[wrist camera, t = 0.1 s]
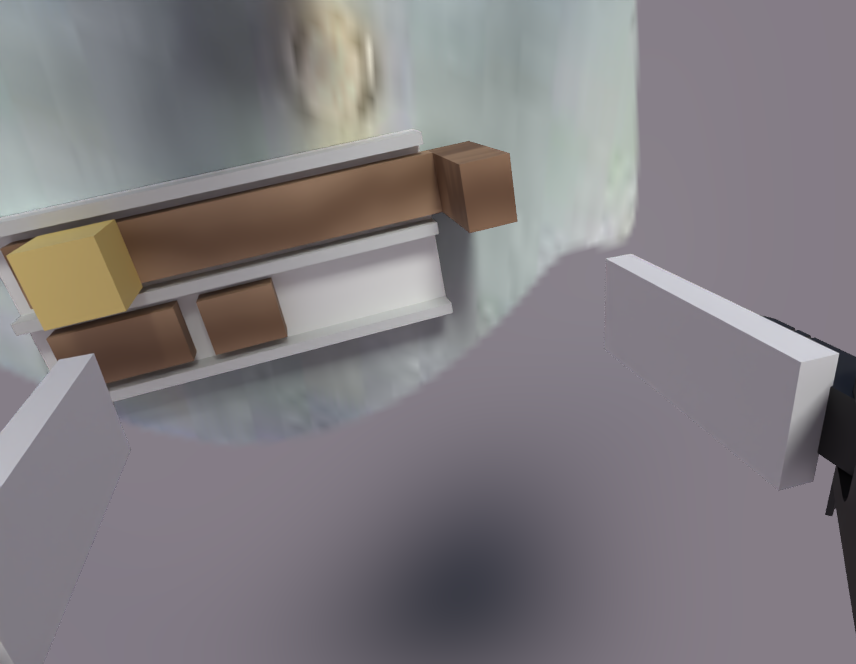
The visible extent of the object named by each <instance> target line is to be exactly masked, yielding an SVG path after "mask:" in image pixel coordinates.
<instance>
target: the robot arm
mask: <svg viewBox="0 0 856 664" xmlns="http://www.w3.org/2000/svg"><path fill="white" fill-rule="evenodd" d="M604 349H605V350H606V351H607V352H608V353H610V354H611V355H612V356H613V357H615V358H616V359H617V360H618V361H619V362H621V363H622V364H623V365H624V366H626V367H627V368H628V369H629V370H631V371H632V372H633V373H634V374H635V375H637V376H638V377H639V378H640V379H642V380H643V381H644V382H645V383H647V384H648V385H649V386H650V387H652V388H653V389H654V390H655V391H656V392H658V393H659V394H660V395H661V396H663V397H664V398H665V399H666V400H668V401H669V402H670V403H671V404H672V405H674V406H675V407H676V408H678V409H679V410H680V411H681V412H682V413H684V414H685V415H686V416H687V417H688V418H690V419H691V420H692V421H693V422H695V423H696V424H697V425H698V426H700V427H701V428H702V429H703V430H705V431H706V432H707V433H709V435H711V436H712V437H713V438H714V439H716V440H717V441H718V442H719V443H720V444H722V445H723V446H724V447H725V448H727V449H728V450H729V451H730V452H732V453H733V454H734V455H735V456H736V457H738V458H739V459H740V460H742V461H743V462H744V463H745V464H746V465H748V466H749V467H750V468H751V469H752V470H754V471H755V472H756V473H758V474H759V475H760V476H761V477H762V478H764V479H765V480H766V481H767V482H768V483H770V484H771V485H772V486H773V487H775V488H776V489H777V490H778V491H780V490H783V489H786V488H791V487H794V486H798V485H802V484H805V483H809V482H813V480H814V475H815V471H816V466H817V460H818V456H819V454H820V455H822V456H823V457H824V458H826V459H827V460H829V461H830V462H832V463H833V464H835V465H836V468H835V473H834V477H833V482H832V486H831V491H830V495H829V500H828V505H827V509H826V513H825V515H829V516H832V515H833V512H834V509H835V508H836V510H837V516H838V523H839V529H840V536H841V542H842V549H843V555H844V561H845V568H846V574H847V580H848V587H849V593H850V599H851V605H852V612H853V618H854V625H855V631H856V357H855V356H853V355H850V354H848V353H846V352H844V351H842V350H840V349H838V348H836V347H833V346H831V345H829V344H827V343H825V342H823V341H821V340H819V339H817V338H811V336H810V335H808V334H806V333H804V332H802V331H800V330H797V331H795V328H793V327H791V326H789V325H787V324H785V323H783V322H781V321H778V320H776V319H773V318H769V317H766V316H761V315H758V314H756V313H754V312H752V311H750V310H748V309H745V308H743V307H741V306H739V305H737V304H735V303H733V302H731V301H729V300H727V299H725V298H722V297H720V296H718V295H716V294H714V293H712V292H710V291H708V290H706V289H704V288H701V287H699V286H697V285H695V284H693V283H691V282H689V281H687V280H685V279H683V278H681V277H678V276H676V275H674V274H672V273H670V272H668V271H666V270H664V269H662V268H660V267H657V266H656V265H653V264H651V263H649V262H647V261H645V260H643V259H641V258H639V257H637V256H635V255H633V254H628V255H623V256H617V257H612V258H607V259H606V276H605V332H604ZM130 451H131V448H130V446H129V443H128V440H127V438H126V435H125V433H124V430H123V427H122V425H121V422H120V420H119V417H118V414H117V412H116V409H115V407H114V404H113V401H112V399H111V396H110V394H109V391H108V388H107V386H106V383H105V381H104V378H103V375H102V373H101V370H100V368H99V365H98V362H97V360H96V357H95V355H94V353H92V354H87V355H81V356H76V357H71V358H65V359H60V360H58V362H57V363H56V364H55V365H54V366H53V368H52V369H51V370H50V371H49V373H48V374H47V375H46V376H45V378H44V379H43V380H42V381H41V383H40V384H39V385H38V386H37V388H36V389H35V390H34V391H33V393H32V394H31V395H30V396H29V398H28V399H27V400H26V401H25V403H24V404H23V405H22V406H21V408H20V409H19V410H18V411H17V412H16V414H15V415H14V416H13V417H12V419H11V420H10V421H9V422H8V424H7V425H6V426H5V427H4V429H3V430H2V431H1V432H0V664H44V661H45V659H46V657H47V654H48V652H49V649H50V647H51V644H52V642H53V640H54V637H55V635H56V632H57V630H58V627H59V625H60V622H61V620H62V617H63V615H64V613H65V610H66V607H67V605H68V603H69V600H70V598H71V595H72V593H73V591H74V588H75V586H76V583H77V581H78V578H79V576H80V573H81V571H82V568H83V566H84V564H85V561H86V559H87V556H88V554H89V551H90V549H91V547H92V544H93V542H94V539H95V537H96V534H97V532H98V529H99V527H100V524H101V522H102V519H103V517H104V515H105V512H106V510H107V507H108V505H109V502H110V500H111V497H112V495H113V492H114V490H115V488H116V485H117V483H118V480H119V478H120V475H121V473H122V471H123V468H124V466H125V463H126V461H127V458H128V456H129V454H130Z"/></svg>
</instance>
